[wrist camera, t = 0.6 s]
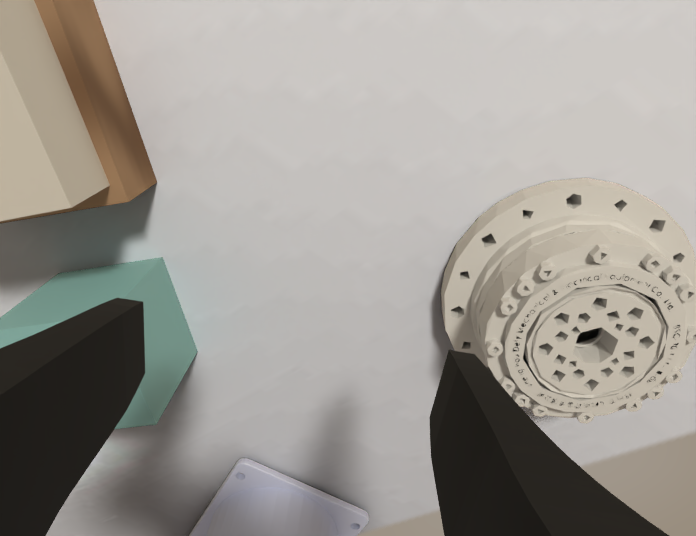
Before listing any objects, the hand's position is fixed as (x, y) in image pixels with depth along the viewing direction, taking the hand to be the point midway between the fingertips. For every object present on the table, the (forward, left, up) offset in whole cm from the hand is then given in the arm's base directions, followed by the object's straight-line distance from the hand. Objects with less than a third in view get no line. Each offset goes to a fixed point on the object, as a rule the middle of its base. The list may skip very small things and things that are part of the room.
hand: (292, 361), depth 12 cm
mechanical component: (+2, -10, -10) cm, 15 cm away
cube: (-9, +6, -10) cm, 14 cm away
